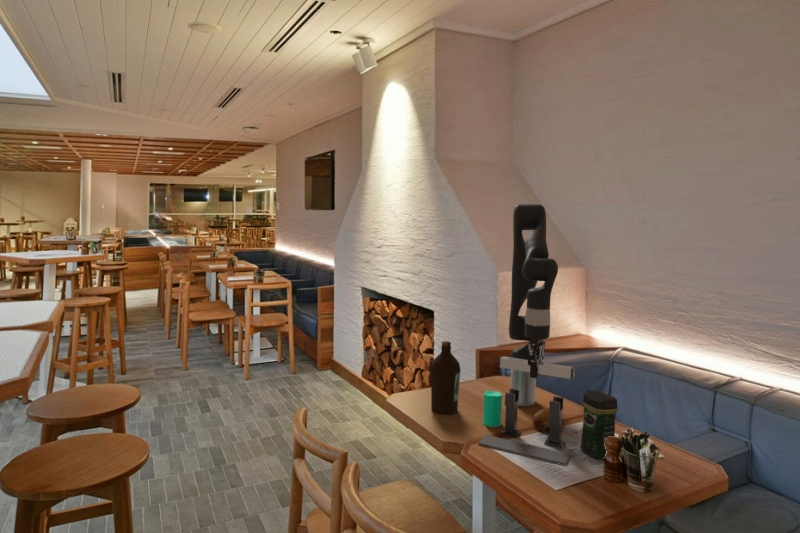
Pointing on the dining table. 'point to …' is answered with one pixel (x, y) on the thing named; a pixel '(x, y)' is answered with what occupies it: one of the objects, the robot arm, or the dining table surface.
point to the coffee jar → (597, 422)
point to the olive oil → (445, 381)
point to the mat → (525, 449)
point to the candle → (492, 408)
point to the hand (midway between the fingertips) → (535, 376)
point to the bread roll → (543, 420)
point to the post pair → (554, 412)
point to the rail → (542, 367)
